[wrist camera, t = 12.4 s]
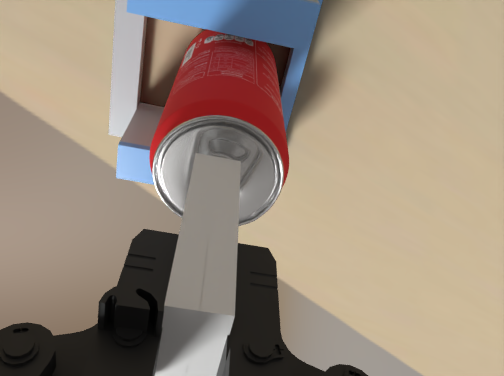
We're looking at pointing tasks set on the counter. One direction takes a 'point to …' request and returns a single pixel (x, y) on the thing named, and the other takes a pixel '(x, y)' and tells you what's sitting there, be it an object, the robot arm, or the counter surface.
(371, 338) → the counter surface
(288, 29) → the grey blue slotted rack
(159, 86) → the counter surface
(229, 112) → the beverage can
